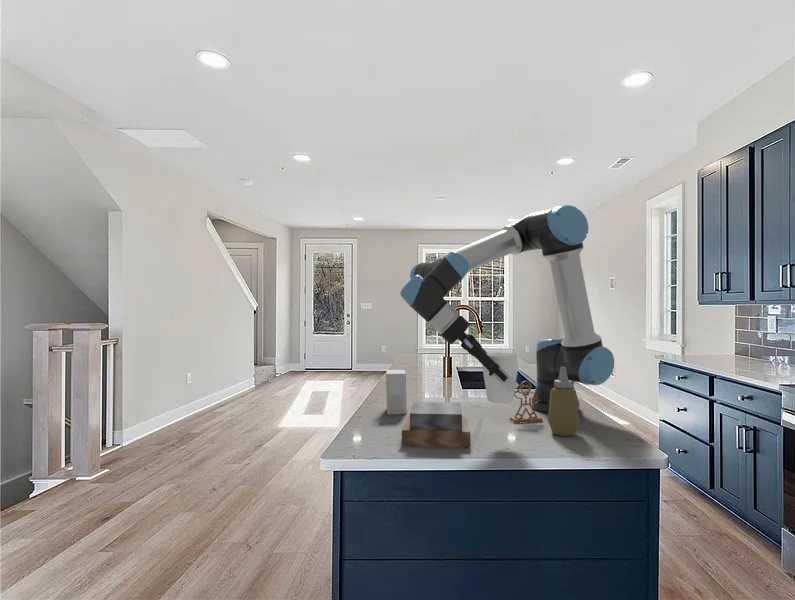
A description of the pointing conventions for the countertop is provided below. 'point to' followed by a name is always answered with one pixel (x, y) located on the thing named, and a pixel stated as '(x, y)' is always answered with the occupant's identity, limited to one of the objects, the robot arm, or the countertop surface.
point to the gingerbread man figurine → (526, 419)
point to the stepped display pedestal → (436, 426)
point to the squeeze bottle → (563, 406)
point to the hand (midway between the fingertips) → (512, 384)
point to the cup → (493, 385)
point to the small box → (396, 391)
